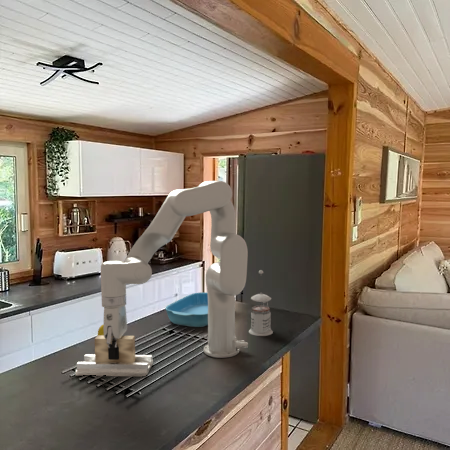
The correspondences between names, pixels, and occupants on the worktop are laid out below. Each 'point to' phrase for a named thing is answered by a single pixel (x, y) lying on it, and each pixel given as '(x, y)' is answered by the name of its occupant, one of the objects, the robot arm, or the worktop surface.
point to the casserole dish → (189, 310)
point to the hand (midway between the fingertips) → (115, 356)
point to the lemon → (101, 330)
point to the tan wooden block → (125, 349)
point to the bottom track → (114, 367)
